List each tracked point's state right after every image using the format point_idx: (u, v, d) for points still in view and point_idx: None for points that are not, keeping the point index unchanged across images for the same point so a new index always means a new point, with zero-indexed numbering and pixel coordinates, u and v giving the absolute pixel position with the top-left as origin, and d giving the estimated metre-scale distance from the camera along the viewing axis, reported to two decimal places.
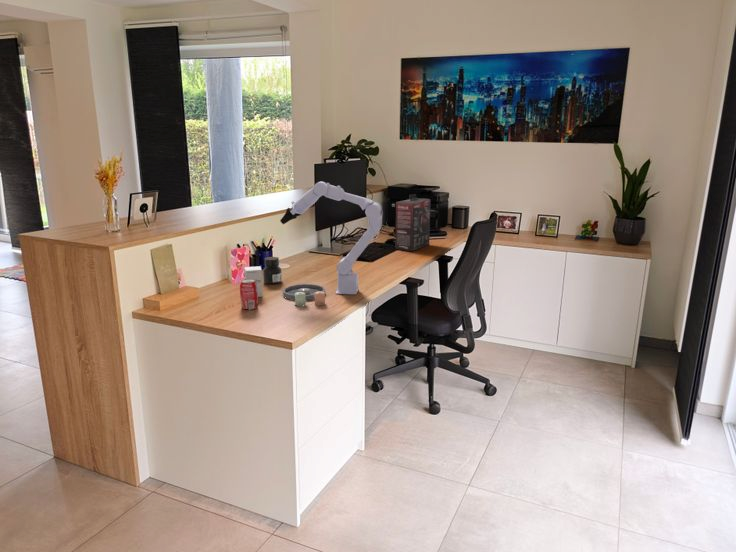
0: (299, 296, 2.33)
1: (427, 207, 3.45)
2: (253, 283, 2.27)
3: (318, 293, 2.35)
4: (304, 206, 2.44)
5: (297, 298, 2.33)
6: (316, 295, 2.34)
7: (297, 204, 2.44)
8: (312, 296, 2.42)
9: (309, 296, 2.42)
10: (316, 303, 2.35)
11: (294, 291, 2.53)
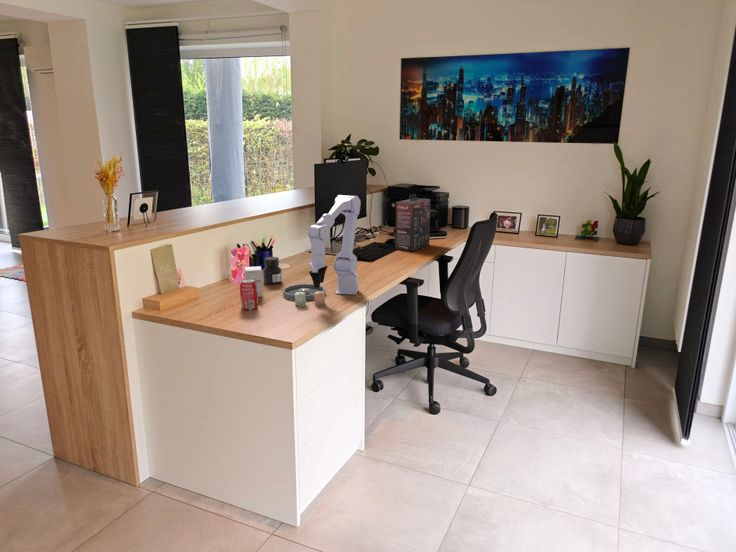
0: (299, 296, 2.33)
1: (427, 207, 3.45)
2: (253, 283, 2.27)
3: (318, 293, 2.35)
4: (320, 257, 2.29)
5: (297, 298, 2.33)
6: (316, 295, 2.34)
7: (313, 261, 2.30)
8: (312, 296, 2.42)
9: (309, 296, 2.42)
10: (316, 303, 2.35)
11: (294, 291, 2.53)
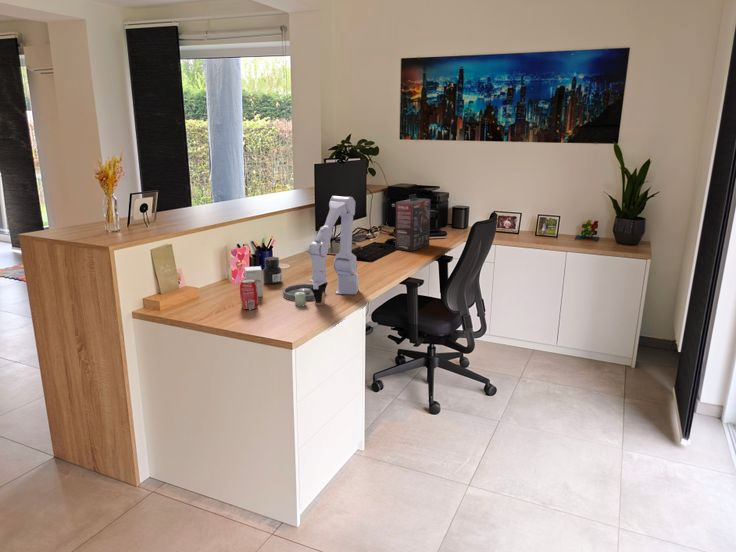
0: (299, 296, 2.33)
1: (427, 207, 3.45)
2: (253, 283, 2.27)
3: None
4: (320, 274, 2.31)
5: (297, 298, 2.33)
6: None
7: (314, 278, 2.32)
8: (312, 296, 2.42)
9: (309, 296, 2.42)
10: (316, 303, 2.35)
11: (294, 291, 2.53)
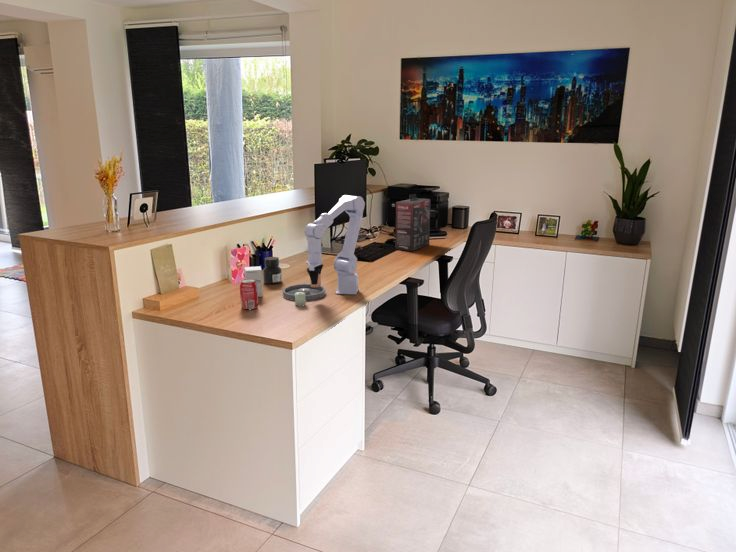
0: (299, 296, 2.33)
1: (427, 207, 3.45)
2: (253, 283, 2.27)
3: None
4: (316, 256, 2.33)
5: (297, 298, 2.33)
6: None
7: (310, 260, 2.34)
8: (312, 296, 2.42)
9: (309, 296, 2.42)
10: (312, 285, 2.37)
11: (294, 291, 2.53)
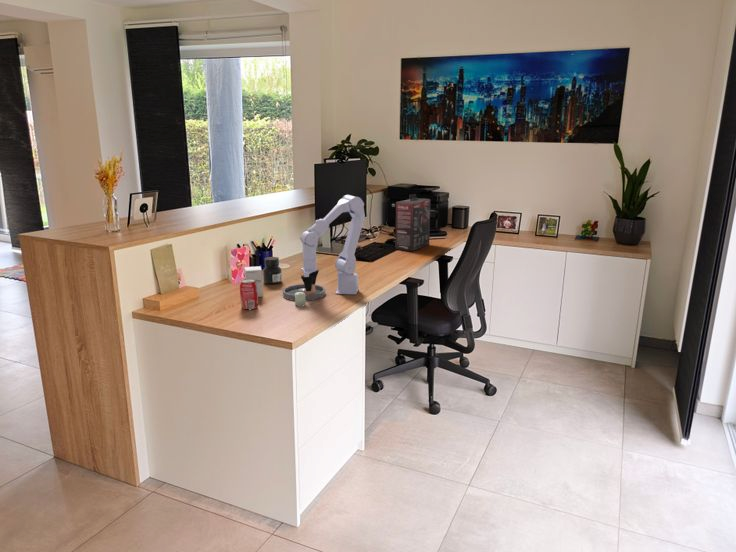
0: (299, 296, 2.33)
1: (427, 207, 3.45)
2: (253, 283, 2.27)
3: None
4: (311, 262, 2.39)
5: (297, 298, 2.33)
6: None
7: (305, 266, 2.40)
8: (312, 296, 2.42)
9: (309, 296, 2.42)
10: None
11: (294, 291, 2.53)
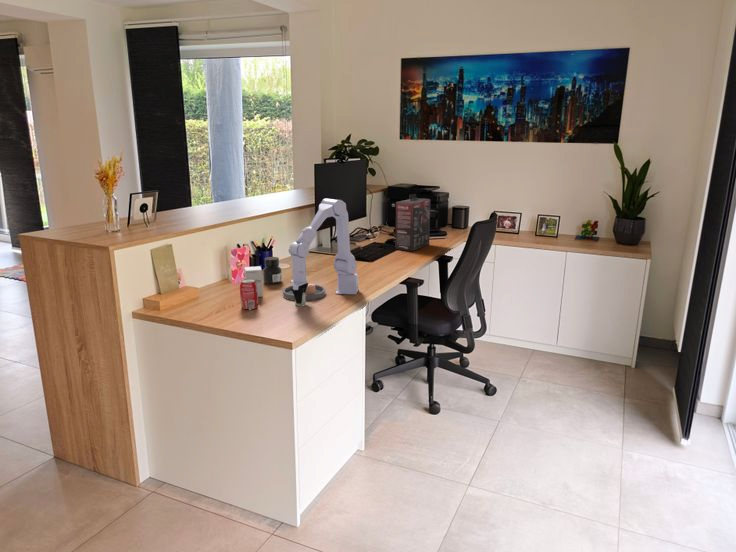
0: None
1: (427, 207, 3.45)
2: (253, 283, 2.27)
3: (309, 285, 2.44)
4: (300, 275, 2.30)
5: None
6: (307, 287, 2.43)
7: (294, 279, 2.31)
8: (312, 296, 2.42)
9: (309, 296, 2.42)
10: None
11: None
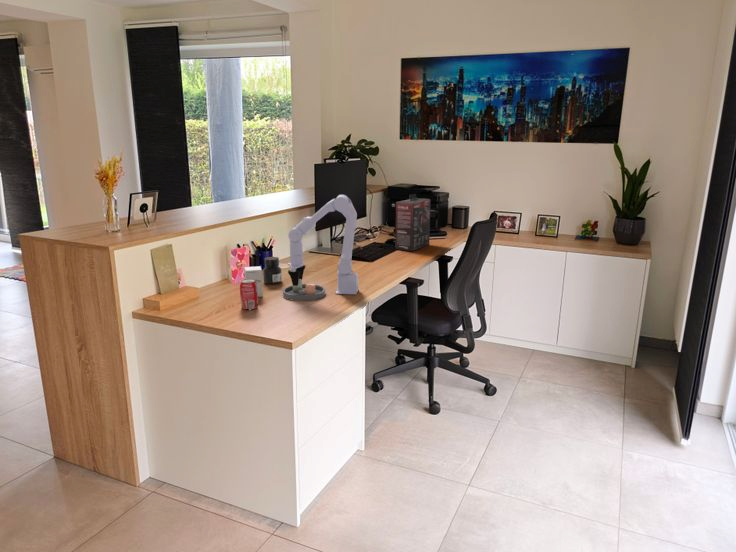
0: None
1: (427, 207, 3.45)
2: (253, 283, 2.27)
3: (309, 285, 2.44)
4: (297, 258, 2.48)
5: None
6: (307, 287, 2.43)
7: (292, 261, 2.49)
8: (312, 296, 2.42)
9: (309, 296, 2.42)
10: None
11: None
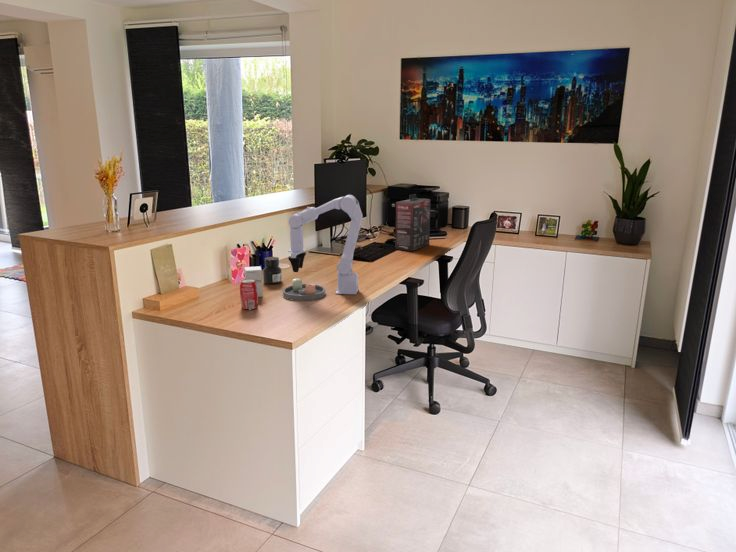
0: (296, 282, 2.51)
1: (427, 207, 3.45)
2: (253, 283, 2.27)
3: (309, 285, 2.44)
4: (298, 244, 2.48)
5: (294, 284, 2.52)
6: (307, 287, 2.43)
7: (292, 248, 2.49)
8: (312, 296, 2.42)
9: (309, 296, 2.42)
10: None
11: None
